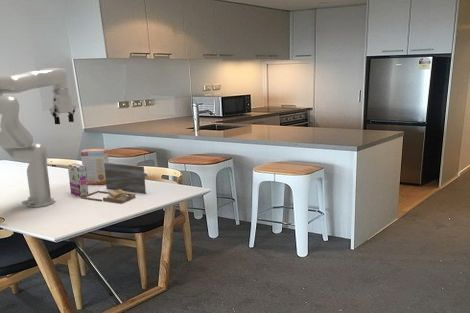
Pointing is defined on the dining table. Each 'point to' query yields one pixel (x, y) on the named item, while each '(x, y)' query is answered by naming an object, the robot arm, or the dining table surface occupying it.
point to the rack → (122, 181)
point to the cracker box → (95, 165)
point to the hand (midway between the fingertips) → (64, 123)
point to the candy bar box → (78, 179)
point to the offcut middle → (118, 198)
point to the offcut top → (117, 193)
